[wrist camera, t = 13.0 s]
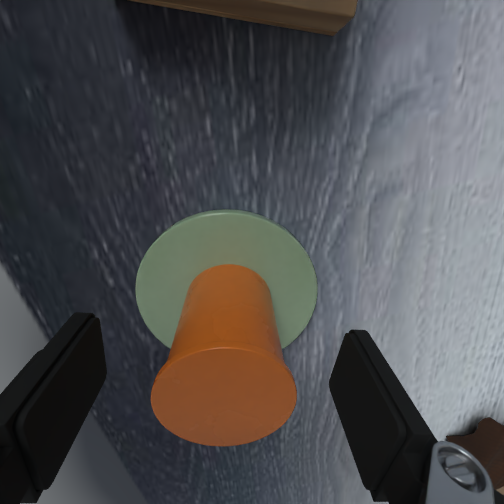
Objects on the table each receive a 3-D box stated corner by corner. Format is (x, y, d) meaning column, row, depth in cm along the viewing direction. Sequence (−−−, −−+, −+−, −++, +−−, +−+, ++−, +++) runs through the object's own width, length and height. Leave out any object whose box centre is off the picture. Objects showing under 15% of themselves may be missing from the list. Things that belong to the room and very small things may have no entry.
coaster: (142, 353, 16) (139, 362, 15) (133, 198, 12) (128, 202, 11) (296, 361, 16) (298, 369, 16) (333, 219, 13) (338, 223, 12)
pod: (181, 334, 14) (152, 445, 9) (183, 255, 12) (147, 343, 7) (267, 339, 15) (283, 448, 10) (282, 264, 13) (310, 352, 8)
